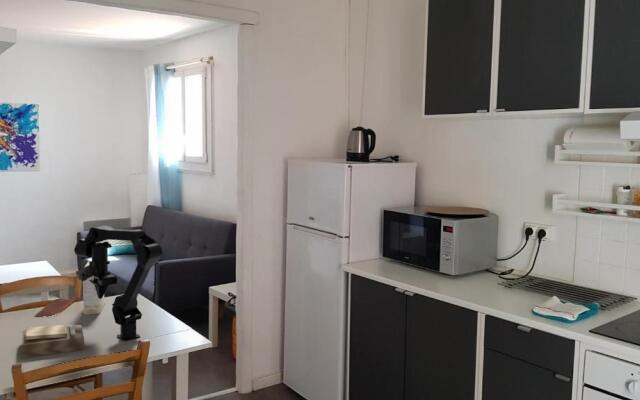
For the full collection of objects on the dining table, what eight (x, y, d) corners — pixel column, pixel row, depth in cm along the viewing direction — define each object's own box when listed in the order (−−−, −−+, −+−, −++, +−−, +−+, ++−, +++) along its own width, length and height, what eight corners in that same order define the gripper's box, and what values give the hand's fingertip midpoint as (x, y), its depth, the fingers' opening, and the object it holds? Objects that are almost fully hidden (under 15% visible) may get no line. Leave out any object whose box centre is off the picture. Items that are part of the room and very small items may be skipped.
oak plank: (65, 328, 209) (66, 325, 209) (67, 336, 200) (67, 333, 200) (26, 330, 203) (26, 327, 203) (25, 339, 194) (25, 336, 194)
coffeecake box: (88, 304, 254) (87, 261, 252) (105, 303, 256) (104, 261, 254) (82, 314, 240) (81, 269, 238) (100, 313, 242) (99, 268, 240)
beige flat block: (81, 336, 214) (81, 322, 213) (84, 349, 200) (83, 334, 200) (22, 343, 205) (22, 328, 204) (21, 357, 192) (21, 342, 191)
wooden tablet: (55, 300, 261) (55, 297, 261) (77, 300, 262) (77, 297, 262) (30, 318, 235) (30, 314, 235) (55, 318, 236) (55, 314, 236)
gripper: (68, 257, 218) (69, 297, 220) (88, 265, 205) (89, 307, 206) (97, 253, 226) (98, 292, 227) (118, 261, 212) (118, 302, 214)
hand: (100, 298), depth 219 cm, fingers closed
